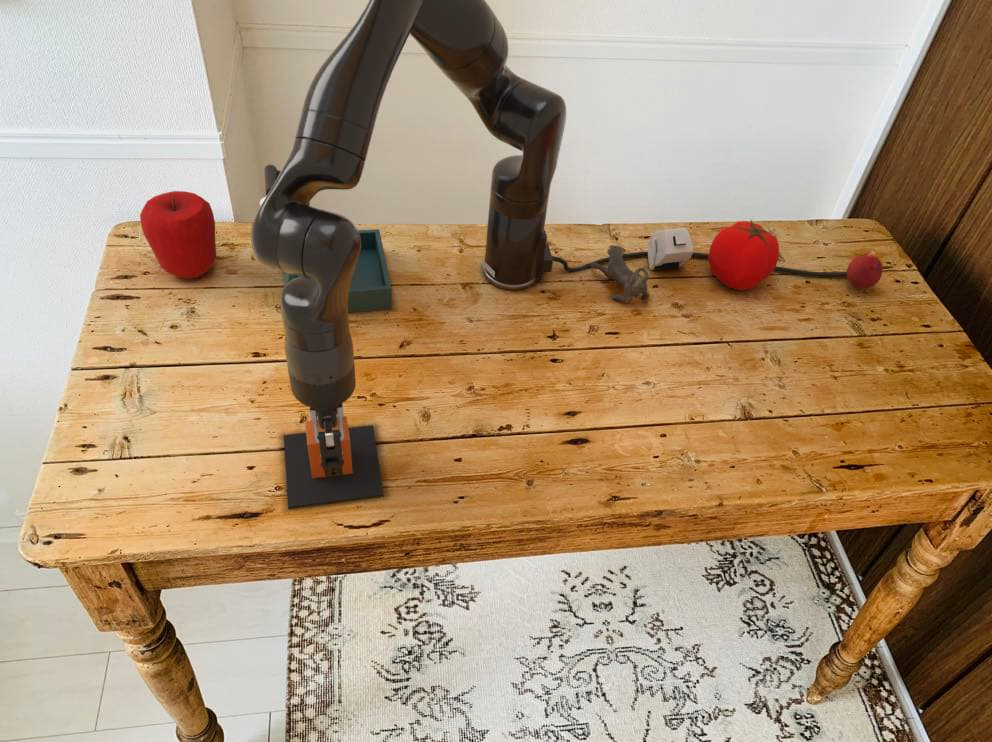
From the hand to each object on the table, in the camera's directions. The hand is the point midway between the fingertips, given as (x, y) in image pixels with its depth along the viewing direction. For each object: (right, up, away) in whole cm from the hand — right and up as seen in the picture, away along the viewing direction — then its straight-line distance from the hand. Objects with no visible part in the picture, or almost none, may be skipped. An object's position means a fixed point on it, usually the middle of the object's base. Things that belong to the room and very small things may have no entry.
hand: (330, 447), depth 105 cm
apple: (-29, +28, +26) cm, 48 cm away
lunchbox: (-6, +26, +28) cm, 38 cm away
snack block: (-1, -2, +2) cm, 3 cm away
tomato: (+63, +28, +40) cm, 79 cm away
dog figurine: (+41, +26, +35) cm, 60 cm away
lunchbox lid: (-9, +34, +17) cm, 39 cm away
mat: (0, -3, +3) cm, 4 cm away
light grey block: (+50, +30, +40) cm, 71 cm away
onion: (+85, +27, +42) cm, 99 cm away
